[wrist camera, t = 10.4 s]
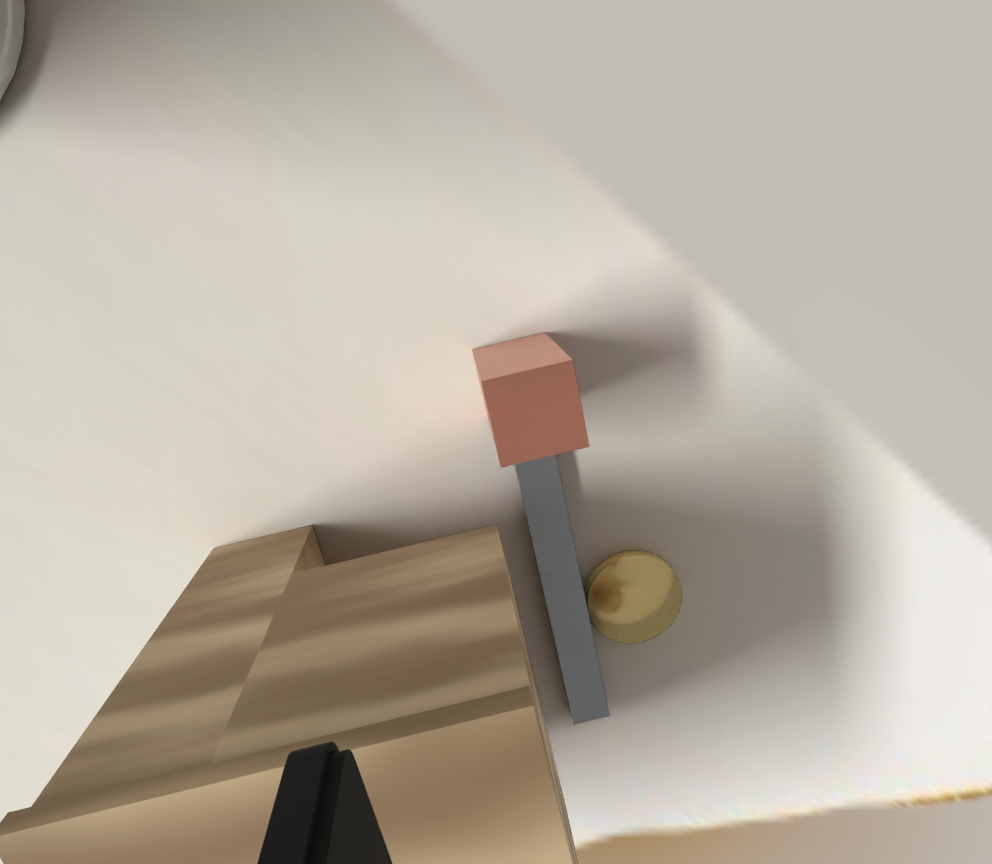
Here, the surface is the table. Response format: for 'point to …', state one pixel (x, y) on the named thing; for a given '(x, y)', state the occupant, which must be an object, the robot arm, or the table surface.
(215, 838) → the oak bench cabinet
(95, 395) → the table surface
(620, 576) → the brass token
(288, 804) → the robot arm
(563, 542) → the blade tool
